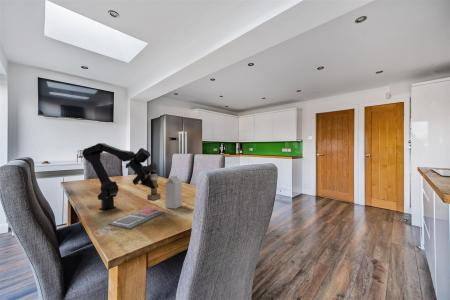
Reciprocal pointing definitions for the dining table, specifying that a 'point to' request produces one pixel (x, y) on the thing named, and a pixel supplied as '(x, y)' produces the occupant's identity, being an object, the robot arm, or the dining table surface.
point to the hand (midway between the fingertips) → (156, 187)
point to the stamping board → (136, 218)
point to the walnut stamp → (154, 194)
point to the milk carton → (173, 193)
